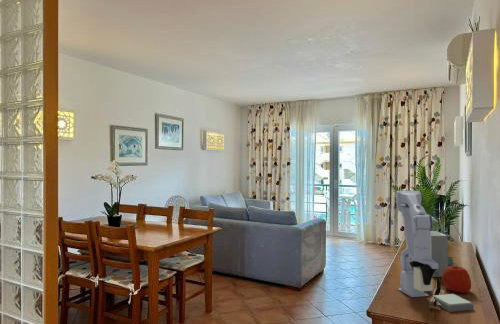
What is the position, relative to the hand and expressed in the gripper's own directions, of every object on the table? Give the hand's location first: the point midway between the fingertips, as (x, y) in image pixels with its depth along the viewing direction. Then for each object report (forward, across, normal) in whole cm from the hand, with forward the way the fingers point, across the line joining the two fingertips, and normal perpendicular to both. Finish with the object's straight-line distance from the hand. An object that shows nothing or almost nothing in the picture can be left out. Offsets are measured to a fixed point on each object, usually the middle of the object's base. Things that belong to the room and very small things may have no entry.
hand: (423, 282), depth 132 cm
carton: (+2, 0, 0) cm, 2 cm away
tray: (+9, 0, +12) cm, 15 cm away
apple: (+10, -14, +26) cm, 31 cm away
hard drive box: (+10, -38, +34) cm, 52 cm away
